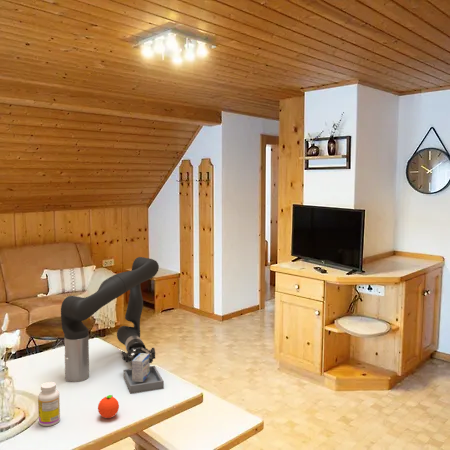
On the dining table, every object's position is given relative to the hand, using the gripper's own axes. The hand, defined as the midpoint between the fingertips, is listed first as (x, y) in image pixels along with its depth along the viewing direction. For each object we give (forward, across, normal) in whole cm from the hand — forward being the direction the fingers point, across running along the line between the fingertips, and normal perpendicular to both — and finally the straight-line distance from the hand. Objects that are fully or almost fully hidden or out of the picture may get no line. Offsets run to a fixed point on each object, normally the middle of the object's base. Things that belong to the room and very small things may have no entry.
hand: (142, 361), depth 186 cm
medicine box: (+1, -1, +6) cm, 6 cm away
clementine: (+23, -16, +8) cm, 29 cm away
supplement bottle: (+20, -35, +8) cm, 41 cm away
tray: (+1, 0, +8) cm, 8 cm away
